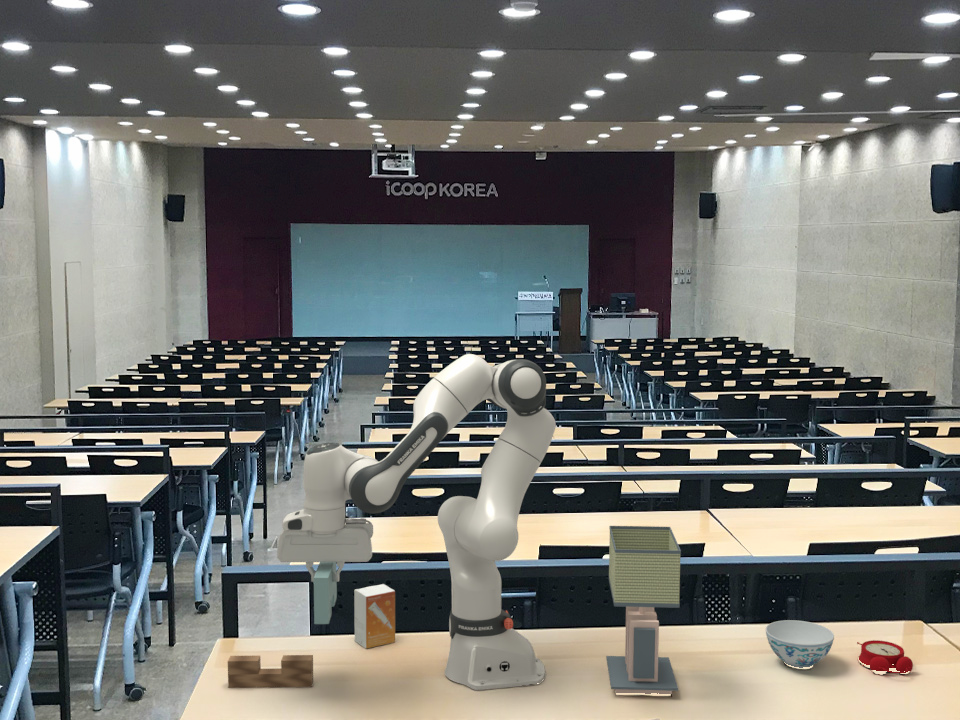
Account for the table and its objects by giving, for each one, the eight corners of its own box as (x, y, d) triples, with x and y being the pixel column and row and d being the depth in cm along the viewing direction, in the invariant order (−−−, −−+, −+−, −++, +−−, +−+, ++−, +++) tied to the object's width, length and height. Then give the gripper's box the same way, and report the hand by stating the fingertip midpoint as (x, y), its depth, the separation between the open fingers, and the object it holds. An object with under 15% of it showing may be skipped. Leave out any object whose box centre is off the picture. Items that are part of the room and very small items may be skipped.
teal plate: (336, 598, 237) (336, 554, 236) (328, 624, 221) (328, 577, 220) (323, 598, 237) (322, 555, 236) (314, 624, 221) (313, 577, 220)
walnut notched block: (313, 681, 232) (312, 654, 232) (311, 686, 229) (311, 660, 229) (231, 682, 232) (230, 655, 231) (228, 687, 229) (227, 661, 228)
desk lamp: (605, 664, 242) (608, 525, 238) (668, 666, 241) (671, 526, 237) (611, 699, 223) (613, 549, 220) (678, 701, 223) (682, 550, 219)
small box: (366, 649, 250) (365, 596, 249) (354, 641, 256) (353, 589, 254) (396, 642, 255) (395, 590, 253) (383, 634, 260) (383, 583, 259)
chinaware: (764, 648, 251) (766, 617, 251) (831, 655, 247) (832, 623, 247) (764, 673, 237) (765, 640, 236) (834, 681, 233) (835, 647, 232)
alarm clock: (893, 639, 249) (921, 649, 234) (894, 666, 248) (923, 678, 233) (849, 639, 248) (875, 649, 233) (850, 666, 248) (876, 678, 233)
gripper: (374, 514, 230) (374, 576, 232) (279, 514, 230) (280, 576, 231) (372, 522, 224) (372, 585, 226) (275, 522, 223) (276, 585, 225)
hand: (325, 580), depth 228 cm, fingers closed on teal plate, 3 cm apart
